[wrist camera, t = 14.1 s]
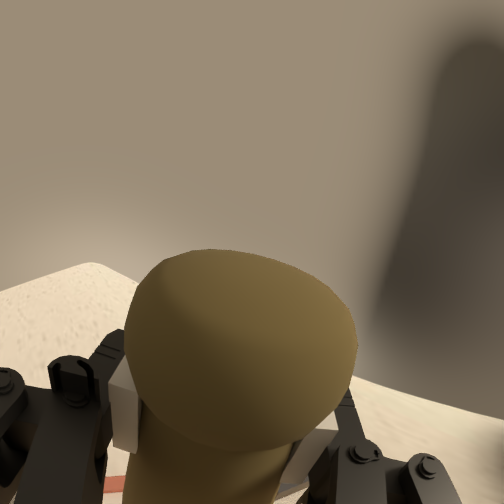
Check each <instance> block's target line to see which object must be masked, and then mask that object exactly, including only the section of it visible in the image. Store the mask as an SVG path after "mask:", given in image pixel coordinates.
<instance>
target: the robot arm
mask: <svg viewBox="0 0 504 504" xmlns="http://www.w3.org/2000/svg"><path fill="white" fill-rule="evenodd" d="M48 373H49V378H50V384H51V388H52V389H43V388H38V387H32V386H27V385H25V383H24V380H23V378H22V376H21V375H20V374H19V373H18V372H17V371H15V370H13V369H10V368H3V367H0V504H9V503H10V501H11V500H12V498H13V496H14V495H15V493H16V491H17V493H16V497H15V501H14V504H102V500H103V491H104V482H105V474H106V467H107V460H108V455H107V447H108V445H109V443H110V441H111V439H112V441H113V447H116V448H119V449H122V450H125V451H128V452H131V453H134V454H136V452H137V448H138V438H139V427H140V418H141V412H142V406H143V401H142V399H141V398H140V397H139V396H138V394H137V391H136V388H135V385H134V382H133V379H132V375H131V372H130V369H129V366H128V362H127V359H126V355H125V352H124V330H121V329H117V330H115V331H113V332H111V333H109V334H107V335H106V337H105V338H104V339H103V341H102V342H101V343H100V346H98V347H97V348H96V350H95V352H94V353H93V354H92V355H91V356H90V358H89V359H86V358H83V357H80V356H72V355H68V356H62V357H59V358H57V359H55V360H53V361H52V362H51V363H50V364H49V365H48ZM307 476H308V478H309V487H308V489H307V490H306V491H305V492H304V494H303V495H302V496H301V497H300V498H299V500H298V501H297V502H296V504H301V503H302V504H462V502H461V500H460V498H459V496H458V494H457V492H456V490H455V488H454V485H453V483H452V481H451V479H450V477H449V475H448V473H447V471H446V469H445V467H444V466H443V464H442V463H441V462H440V460H438V459H437V458H436V457H434V456H432V455H430V454H427V453H419V454H416V455H414V456H413V457H412V458H411V459H410V460H409V461H408V462H402V461H398V460H394V459H390V458H386V457H384V456H383V455H382V452H381V450H380V449H379V448H378V446H377V445H376V444H374V443H373V442H371V441H370V440H367V439H366V438H365V435H364V432H363V429H362V426H361V423H360V420H359V417H358V414H357V411H356V408H355V404H354V401H353V399H352V395H351V392H350V390H349V388H348V389H347V391H346V393H345V395H344V396H343V398H342V400H341V402H340V403H339V405H338V407H337V408H336V409H335V410H334V411H333V412H332V413H331V414H330V415H328V416H327V417H326V418H325V419H324V420H323V421H322V422H321V423H320V424H319V425H318V426H317V427H316V428H314V429H313V430H312V431H311V432H310V433H309V434H308V435H306V436H305V437H304V438H303V439H301V440H298V441H296V442H294V445H293V448H292V450H291V453H290V456H289V458H288V461H287V463H286V466H285V468H284V471H283V474H282V476H281V479H280V482H279V483H289V484H302V483H303V481H304V480H305V479H306V477H307Z"/></svg>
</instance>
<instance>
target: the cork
mask: <svg viewBox="0 0 504 504" xmlns="http://www.w3.org/2000/svg"><path fill="white" fill-rule="evenodd" d="M357 349H358V342H357V336H356V330H355V325H354V321H353V319H352V316H351V313H350V311H349V309H348V308H347V306H346V305H345V304H344V303H343V302H342V301H341V300H340V299H339V297H337V295H336V294H335V293H334V292H333V291H332V290H331V289H330V288H329V287H328V286H326V285H325V284H324V283H322V282H321V281H319V280H318V279H317V278H315V277H314V276H312V275H310V274H307V273H306V272H303V271H301V270H300V269H298V268H295V267H293V266H290V265H287V264H285V263H282V262H279V261H277V260H274V259H270V258H266V257H262V256H259V255H254V254H250V253H244V252H238V251H232V250H216V249H207V250H195V251H190V252H186V253H183V254H180V255H177V256H174V257H171V258H168V259H165V260H163V261H162V262H160V263H159V264H158V265H157V266H156V267H154V268H153V269H152V270H151V271H150V272H149V273H148V275H147V276H146V277H145V278H144V279H143V281H142V282H141V283H140V284H139V285H138V286H137V289H136V291H135V294H134V297H133V299H132V302H131V305H130V308H129V311H128V315H127V319H126V323H125V326H124V352H125V355H126V359H127V362H128V366H129V369H130V372H131V375H132V379H133V382H134V385H135V388H136V391H137V394H138V396H139V397H140V398H141V399H142V401H143V406H142V412H141V418H140V427H139V438H138V448H137V452H136V454H134V453H131V452H130V456H129V461H128V466H127V472H126V477H125V482H124V488H123V497H122V504H273V503H274V500H275V498H276V495H277V492H278V490H279V487H280V484H281V483H279V482H280V479H281V476H282V474H283V471H284V468H285V466H286V463H287V461H288V458H289V456H290V453H291V450H292V448H293V445H294V442H296V441H298V440H301V439H303V438H304V437H305V436H306V435H308V434H309V433H310V432H311V431H312V430H313V429H314V428H316V427H317V426H318V425H319V424H320V423H321V422H322V421H323V420H324V419H325V418H326V417H327V416H328V415H330V414H331V413H332V412H333V411H334V410H335V409H336V408H337V407H338V405H339V403H340V402H341V400H342V398H343V396H344V395H345V393H346V391H347V389H348V388H349V385H350V381H351V377H352V373H353V369H354V364H355V360H356V354H357Z"/></svg>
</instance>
